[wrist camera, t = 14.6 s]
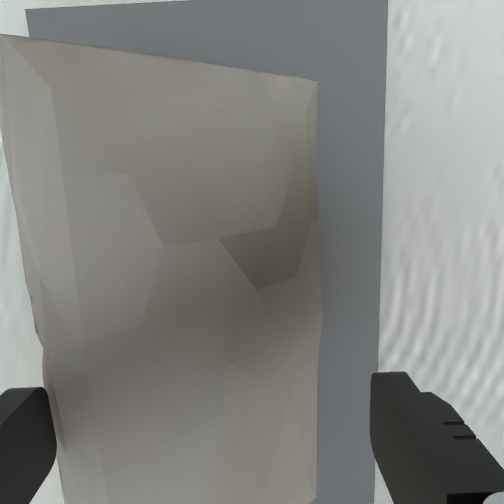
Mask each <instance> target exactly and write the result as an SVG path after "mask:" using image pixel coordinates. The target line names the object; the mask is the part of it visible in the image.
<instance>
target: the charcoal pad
mask: <svg viewBox="0 0 504 504" xmlns="http://www.w3.org/2000/svg"><path fill="white" fill-rule="evenodd" d="M25 12H26V18H27V24H28V30H29V36H30V38H39V39H47V40H55V41H63V42H71V43H79V44H87V45H96V46H104V47H112V48H120V49H128V50H136V51H144V52H149V53H155V54H160V55H165V56H170V57H176V58H181V59H186V60H192V61H197V62H202V63H207V64H213V65H219V66H226V67H233V68H240V69H247V70H254V71H261V72H268V73H274V74H281V75H288V76H295V77H300V78H304V79H308V80H312V81H316V82H317V142H316V176H317V208H318V241H319V263H320V280H321V297H322V313H323V320H322V330H321V340H320V351H319V361H318V372H317V485H316V498H315V499H314V500H312V501H311V502H310V503H309V504H374V484H375V457H374V454H373V450H372V446H371V440H370V386H371V376H372V374H373V373H378V341H379V306H380V270H381V234H382V198H383V163H384V127H385V91H386V55H387V20H388V0H189V1H171V2H152V3H133V4H115V5H96V6H78V7H59V8H40V9H25Z"/></svg>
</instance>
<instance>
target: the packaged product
mask: <svg viewBox="0 0 504 504" xmlns="http://www.w3.org/2000/svg"><path fill="white" fill-rule="evenodd" d="M0 124H1V130H2V139H3V146H4V151H5V157H6V162H7V168H8V173H9V178H10V184H11V189H12V194H13V200H14V205H15V210H16V214H17V221H18V229H19V236H20V243H21V251H22V258H23V265H24V273H25V280H26V285H27V288H28V291H29V294H30V299H31V305H32V311H33V316H34V323H35V331H36V333H37V335H38V338H39V340H40V342H41V344H42V346H43V364H42V366H43V381H44V387H45V390H46V391H47V394H48V397H49V403H50V408H51V413H52V418H53V424H54V429H55V434H56V440H57V452H56V454H57V460H58V466H59V472H60V478H61V484H62V490H63V496H64V502H65V504H309V503H310V502H311V501H312V500H314V499H315V498H316V485H317V372H318V361H319V351H320V340H321V330H322V320H323V313H322V297H321V280H320V263H319V241H318V208H317V176H316V142H317V82H316V81H312V80H308V79H304V78H300V77H295V76H288V75H281V74H274V73H268V72H261V71H254V70H247V69H240V68H233V67H226V66H219V65H213V64H207V63H202V62H197V61H192V60H186V59H181V58H176V57H170V56H165V55H160V54H155V53H149V52H144V51H136V50H128V49H120V48H112V47H104V46H96V45H87V44H79V43H71V42H63V41H55V40H47V39H39V38H30V37H22V36H14V35H6V34H0Z"/></svg>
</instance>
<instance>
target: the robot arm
mask: <svg viewBox="0 0 504 504" xmlns="http://www.w3.org/2000/svg"><path fill="white" fill-rule="evenodd" d="M370 440H371V446H372V450H373V454H374V457H375V459H376V462H377V464H378V466H379V469H380V471H381V474H382V476H383V478H384V481H385V483H386V486H387V488H388V490H389V493H390V495H391V498H392V500H393V502H394V504H504V469H503V468H502V467H501V466H500V465H499V463H498V462H497V461H496V460H495V458H494V457H493V456H492V455H491V454H490V452H489V451H488V450H487V449H486V447H485V446H484V445H483V444H482V443H481V441H480V440H479V439H476V435H475V434H474V433H473V432H472V430H471V429H470V428H469V427H468V425H465V424H464V421H463V419H462V418H461V417H460V416H459V414H458V413H457V412H456V411H455V410H454V408H453V407H452V406H451V405H450V404H448V403H447V402H445V401H444V400H442V399H441V398H439V397H438V396H436V395H435V394H433V393H432V392H420V391H419V389H418V388H417V387H416V385H415V384H414V383H413V381H412V380H411V378H410V377H409V376H408V374H407V373H406V372H382V373H373V374H372V376H371V386H370ZM56 452H57V440H56V434H55V429H54V424H53V418H52V413H51V408H50V403H49V397H48V394H47V391H46V390H45V389H44V388H43V387H29V388H11V389H8V390H6V391H5V392H4V393H3V394H1V395H0V504H29V503H30V501H31V500H32V498H33V497H34V495H35V494H36V492H37V491H38V489H39V488H40V486H41V484H42V483H43V481H44V480H45V478H46V477H47V475H48V474H49V472H50V470H51V469H52V466H53V464H54V461H55V458H56Z"/></svg>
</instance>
